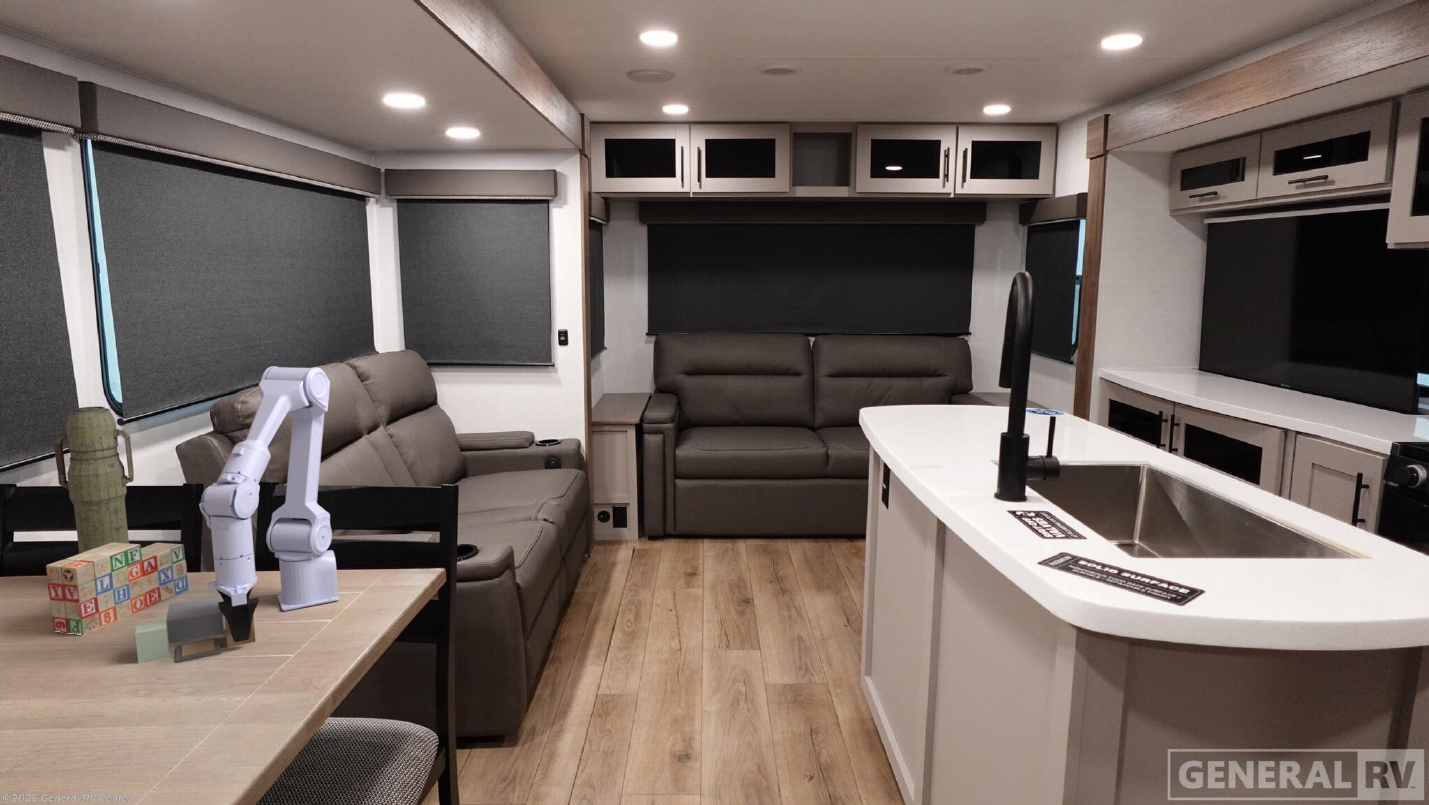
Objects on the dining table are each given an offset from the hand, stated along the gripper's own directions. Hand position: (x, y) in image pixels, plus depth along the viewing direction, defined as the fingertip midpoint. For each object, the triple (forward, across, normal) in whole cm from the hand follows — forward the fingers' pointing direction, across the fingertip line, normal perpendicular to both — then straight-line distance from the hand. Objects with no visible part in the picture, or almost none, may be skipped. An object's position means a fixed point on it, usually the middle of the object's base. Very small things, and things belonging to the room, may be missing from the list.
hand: (240, 632), depth 134 cm
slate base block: (+2, -9, -6) cm, 11 cm away
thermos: (+2, -43, -20) cm, 48 cm away
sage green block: (+2, -1, -12) cm, 12 cm away
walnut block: (+2, 0, 0) cm, 2 cm away
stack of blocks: (+2, -25, -17) cm, 30 cm away
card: (+1, +1, -6) cm, 6 cm away
